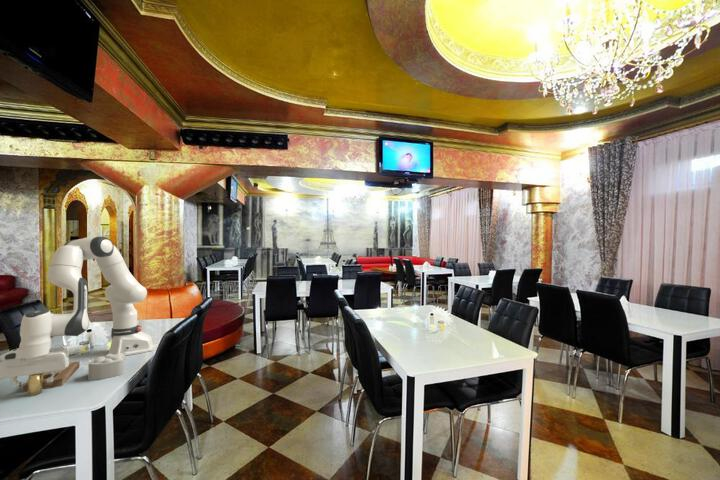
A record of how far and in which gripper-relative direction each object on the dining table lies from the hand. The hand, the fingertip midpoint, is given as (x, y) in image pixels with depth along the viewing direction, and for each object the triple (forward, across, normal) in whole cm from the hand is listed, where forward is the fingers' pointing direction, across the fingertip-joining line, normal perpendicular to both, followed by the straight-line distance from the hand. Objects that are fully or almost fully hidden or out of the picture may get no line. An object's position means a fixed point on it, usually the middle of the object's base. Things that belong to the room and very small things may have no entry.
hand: (34, 384), depth 121 cm
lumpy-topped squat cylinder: (+4, -21, -9) cm, 24 cm away
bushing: (+4, 0, 0) cm, 4 cm away
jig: (+4, -1, -15) cm, 16 cm away
